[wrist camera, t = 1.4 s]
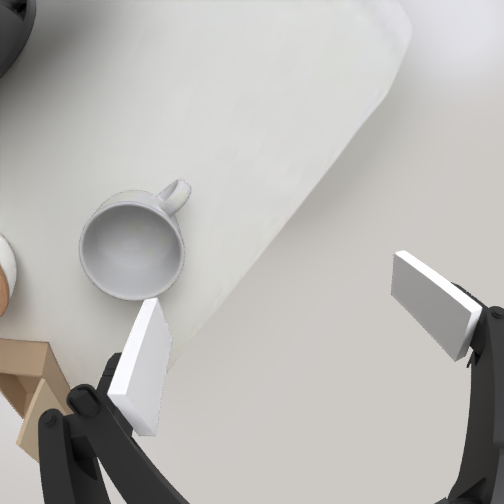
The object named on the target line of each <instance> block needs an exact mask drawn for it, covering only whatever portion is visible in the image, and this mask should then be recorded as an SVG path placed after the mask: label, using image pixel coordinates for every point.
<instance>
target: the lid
mask: <svg viewBox="0 0 504 504" xmlns="http://www.w3.org/2000/svg"><path fill="white" fill-rule="evenodd" d="M39 379H40V382H39V385H38V387H37V389H36V391H35V394H34V396H33V398H32V401H31V403H30V406H29V408H28V411H27V413H26V416H25V419H24V421H23V424H22V427H21V430H20V433H19V436H18V438H17V441H16V444H17V445H18V446H19V447H20V448H22V449H23V450H24V451H25V452H26V453H27V454H28V455H30V456H31V457H32V458H33V459H34V460H36V461H37V462H38V463H39V448H38V421H39V418H40V416H41V414H42V413H43V412H45V411H46V410H48V409H52V408H55V409H58V410H59V411H60V412H61V413H62V414H63V415H64V416H65V415H67V414H66V412H65V411H64V410H63V408H62V406H61V405H60V403H59V402H58V400H57V399H56V397H55V395H54V394H53V392H52V391H51V389H50V387H49V386H48V384H47V382H46V380H45V379H44V378H43V377H42V376H41V377H40V378H39Z"/></svg>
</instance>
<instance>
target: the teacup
mask: <svg viewBox="0 0 504 504" xmlns="http://www.w3.org/2000/svg"><path fill="white" fill-rule="evenodd" d="M190 194H191V186H190V185H189V183H187V182H186V181H185V180H183V179H178V180H176V181H174V182H173V183H171V184H170V185H169V186H168V187H167V188H166V189H164V190H163V191H162V192H161V193H159V194H158V195H157V196H155V195H153V194H151V193H148V192H145V191H140V190H129V191H124V192H120V193H118V194H115V195H113V196H112V197H110V198H109V199H107V200H106V201H105V202H104V203H103V204H102V205H101V206H100V207H99V208H98V209H97V210H96V212H95V213H94V215H93V216H92V217H91V218H90V219H89V220H88V222H87V223H86V225H85V226H84V228H83V231H82V234H81V237H80V241H79V256H80V261H81V264H82V267H83V269H84V271H85V273H86V274H87V276H88V277H89V278H90V280H91V281H92V282H93V283H94V284H95V285H96V286H97V287H98V288H99V289H100V290H101V291H103V292H105V293H107V294H108V295H111V296H113V297H115V298H119V299H122V300H129V301H139V300H145V299H150V298H153V297H156V296H158V295H160V294H162V293H163V292H165V291H166V290H167V289H169V288H170V287H171V286H172V285H173V284H174V282H175V281H176V280H177V278H178V277H179V275H180V273H181V271H182V268H183V265H184V257H185V250H184V243H183V239H182V237H181V234H180V229H179V225H178V222H177V219H176V217H175V215H174V213H176V212H177V211H178V210H179V209H180V208H181V207H182V206H183V205H184V204H185V202H186V201H187V199H188V198H189V196H190Z"/></svg>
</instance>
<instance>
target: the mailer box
mask: <svg viewBox="0 0 504 504" xmlns="http://www.w3.org/2000/svg"><path fill="white" fill-rule="evenodd" d="M41 376H42V377H43V378H44V379H45V380H46V382H47V384H48V386H49V387H50V389H51V391H52V392H53V394H54V395H55V397H56V399H57V400H58V402H59V403H60V405H61V406H62V408H63V410H64V411H65V412H66V414H67V415H69V414H73V411H72V410H71V409H70V408H69V406H68V405H67V403H66V398H67V395H68V393H69V392H70V391H71V389H70V387H69V385H68V383H67V381H66V379H65V377H64V375H63V373H62V371H61V369H60V367H59V365H58V363H57V361H56V358H55V356H54V354H53V352H52V349H51V347H50V344H49V342H35V341H20V340H9V339H0V391H1V392H2V394H3V395H4V396H5V398H6V399H7V400H8V402H9V403H10V404H11V405H12V407H13V408H14V409H15V410H16V412H17V413H18V414H19V415H20V416H21V417H22V419H25V416H26V413H27V411H28V408H29V406H30V403H31V401H32V398H33V396H34V394H35V391H36V389H37V387H38V385H39V382H40V379H39V378H40V377H41Z"/></svg>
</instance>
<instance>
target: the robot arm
mask: <svg viewBox="0 0 504 504" xmlns="http://www.w3.org/2000/svg"><path fill="white" fill-rule="evenodd" d="M35 14H36V1H35V0H0V78H1V77H2V75H3V74H4V73H5V72H6V71H7V70H8V69H9V67H10V66H11V65H12V64H13V62H14V61H15V59H16V58H17V57H18V55H19V53H20V52H21V50H22V48H23V47H24V45H25V43H26V41H27V39H28V37H29V34H30V32H31V29H32V26H33V23H34V19H35ZM391 295H392V296H393V297H394V298H395V299H396V300H397V301H398V302H399V303H400V304H401V305H402V306H403V307H404V308H405V309H406V310H407V311H408V312H409V313H410V314H411V315H412V316H413V317H414V318H415V319H416V320H417V321H418V322H419V323H420V324H421V325H422V327H423V328H425V330H426V331H427V332H428V333H429V334H430V335H431V336H432V337H433V338H434V339H435V340H436V341H437V343H439V345H440V346H441V347H442V348H443V349H444V350H445V351H446V352H447V354H448V355H449V356H450V357H451V358H452V359H453V360H454V361H455V362H456V361H457V360H459V359H461V358H463V357H465V356H466V354H467V351H468V349H469V346H470V347H471V348H472V349H473V352H472V354H471V357H470V359H469V362H468V364H467V368H468V367H469V365H470V364H471V395H470V408H469V418H468V427H467V434H466V441H465V447H464V453H463V457H462V463H461V467H460V472H459V476H458V479H457V481H456V483H455V484H454V486H453V487H452V489H451V491H450V493H449V496H448V499H446V497H445V498H443V499H442V500H440V501H438V502H437V503H435V504H504V309H503V308H501V307H498V306H492V307H490V308H488V307H487V306H485V305H484V304H483V303H482V302H480V301H479V300H478V299H477V298H475V297H474V296H471V294H470V293H469V292H466V290H465V289H463V288H462V287H460V286H459V285H457V284H454V283H452V282H451V283H450V282H449V281H447V280H446V279H445V278H443V277H442V276H441V275H439V274H438V273H436V272H435V271H434V270H432V269H431V268H429V267H428V266H427V265H425V264H424V263H422V262H421V261H419V260H418V259H416V258H415V257H413V256H412V255H411V254H409V253H407V252H406V251H405V250H404V251H399V252H395V253H394V261H393V276H392V287H391ZM172 340H173V338H172V335H171V333H170V330H169V327H168V325H167V322H166V319H165V317H164V314H163V311H162V308H161V305H160V303H159V300H158V298H152V299H145V300H144V302H143V304H142V307H141V309H140V311H139V314H138V316H137V318H136V321H135V323H134V325H133V328H132V330H131V333H130V335H129V338H128V340H127V343H126V345H125V348H124V350H123V353H115V354H114V355H113V356H112V357H111V358H110V359H109V360H108V362H107V364H106V367H105V370H104V372H103V374H102V377H101V379H100V382H99V384H98V387H97V389H96V390H95V389H94V387H93V386H92V385H89V384H81V385H78V386H76V387H74V388H73V389H72V390H71V391H70V392H69V393H68V395H67V398H66V403H67V405H68V406H69V408H70V409H71V410H72V411H73V412H74V414H69V415H65V416H64V415H63V414H62V413H61V412H60V411H59V410H58V409H55V408H52V409H48V410H46V411H45V412H43V413H42V414H41V416H40V418H39V421H38V448H39V464H40V474H41V483H42V490H43V497H44V502H45V504H111V503H110V500H109V497H108V494H107V491H106V488H105V484H104V481H103V478H102V474H101V470H100V467H99V463H98V459H97V457H98V458H99V460H100V462H101V464H102V466H103V467H104V469H105V471H106V472H107V474H108V476H109V477H110V479H111V480H112V482H113V483H114V485H115V487H116V488H117V490H118V491H119V493H120V494H121V495H122V497H123V499H124V500H125V501H126V503H127V504H190V503H189V502H188V501H187V500H185V499H184V498H183V496H182V495H181V494H180V493H179V492H178V491H177V490H176V489H175V488H174V487H173V486H172V485H171V484H170V483H169V482H168V480H167V479H165V477H164V476H163V475H162V474H161V473H160V471H159V470H158V469H157V468H156V467H155V465H153V463H152V462H151V461H150V459H149V458H148V457H147V456H146V454H145V453H144V452H143V450H142V449H141V448H140V447H139V445H138V444H137V443H136V441H135V440H134V439H133V438H132V431H133V429H134V430H135V432H136V433H137V434H138V435H139V436H156V432H157V424H158V418H159V412H160V405H161V399H162V393H163V388H164V381H165V376H166V371H167V366H168V360H169V355H170V350H171V345H172Z"/></svg>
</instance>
